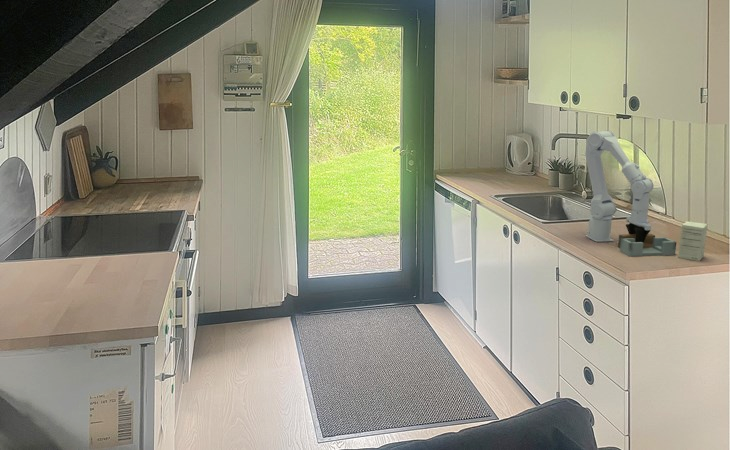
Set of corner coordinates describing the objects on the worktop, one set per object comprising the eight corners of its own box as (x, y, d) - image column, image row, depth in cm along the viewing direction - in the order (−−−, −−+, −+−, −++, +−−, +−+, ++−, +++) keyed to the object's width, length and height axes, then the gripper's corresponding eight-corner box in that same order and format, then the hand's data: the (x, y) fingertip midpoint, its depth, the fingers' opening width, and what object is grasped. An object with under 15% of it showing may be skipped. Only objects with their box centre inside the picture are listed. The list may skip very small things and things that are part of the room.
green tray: (619, 251, 234) (621, 238, 233) (664, 249, 236) (665, 237, 235) (629, 256, 227) (630, 243, 226) (674, 254, 229) (676, 242, 228)
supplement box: (682, 253, 231) (686, 220, 228) (704, 256, 227) (708, 223, 224) (677, 257, 226) (681, 224, 223) (699, 261, 221) (704, 227, 218)
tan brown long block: (617, 246, 240) (619, 234, 239) (649, 245, 241) (651, 233, 240) (621, 248, 237) (623, 236, 236) (653, 248, 239) (655, 235, 237)
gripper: (660, 213, 229) (656, 248, 232) (639, 205, 243) (636, 238, 246) (642, 214, 229) (638, 249, 232) (622, 206, 243) (619, 239, 246)
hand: (636, 243), depth 239 cm, fingers open, 4 cm apart
